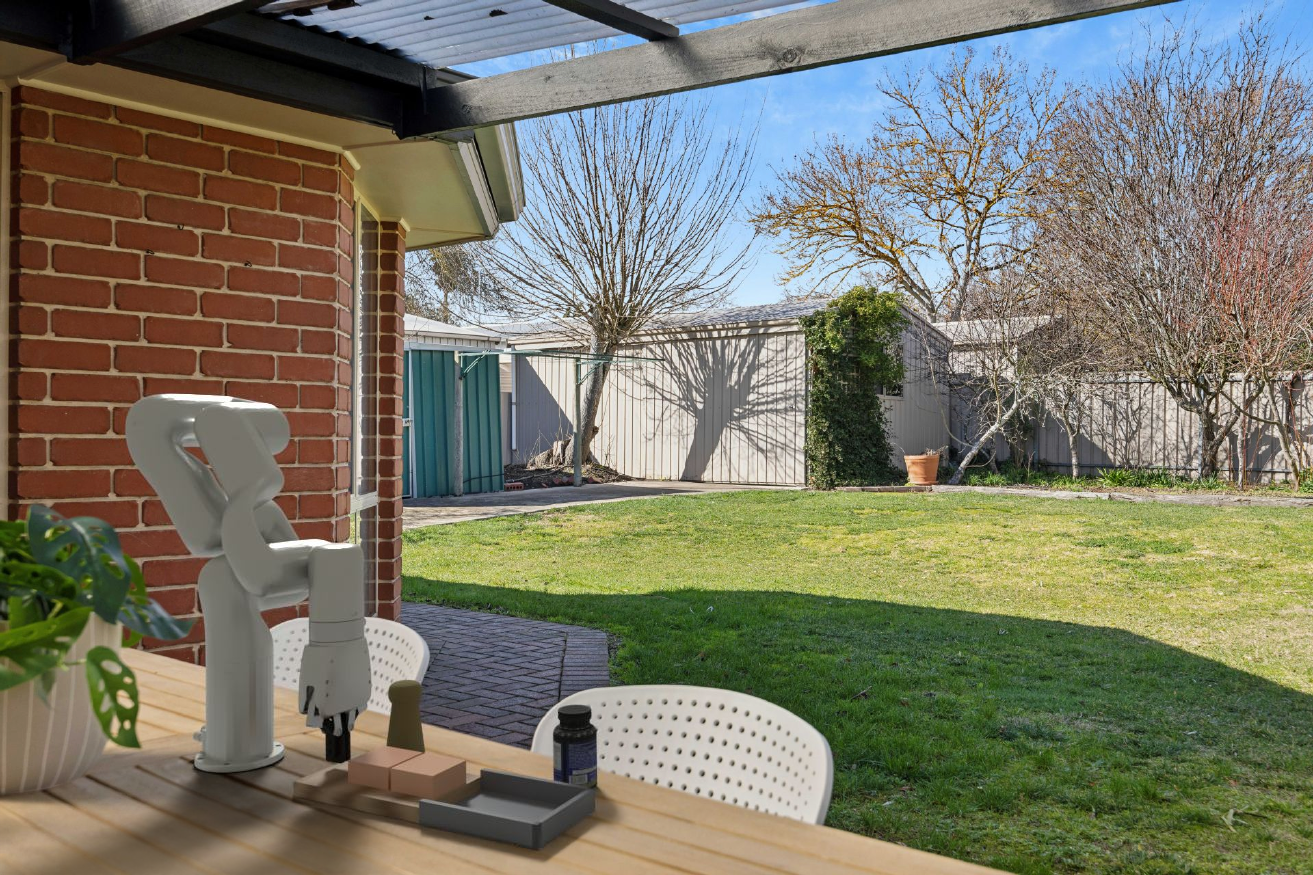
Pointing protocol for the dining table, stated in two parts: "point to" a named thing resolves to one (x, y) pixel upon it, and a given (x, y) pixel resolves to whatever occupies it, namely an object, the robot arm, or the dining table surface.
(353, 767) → the tile rear
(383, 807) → the board
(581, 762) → the pill bottle
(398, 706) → the cork
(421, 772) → the tile front
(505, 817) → the tray
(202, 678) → the dining table surface
